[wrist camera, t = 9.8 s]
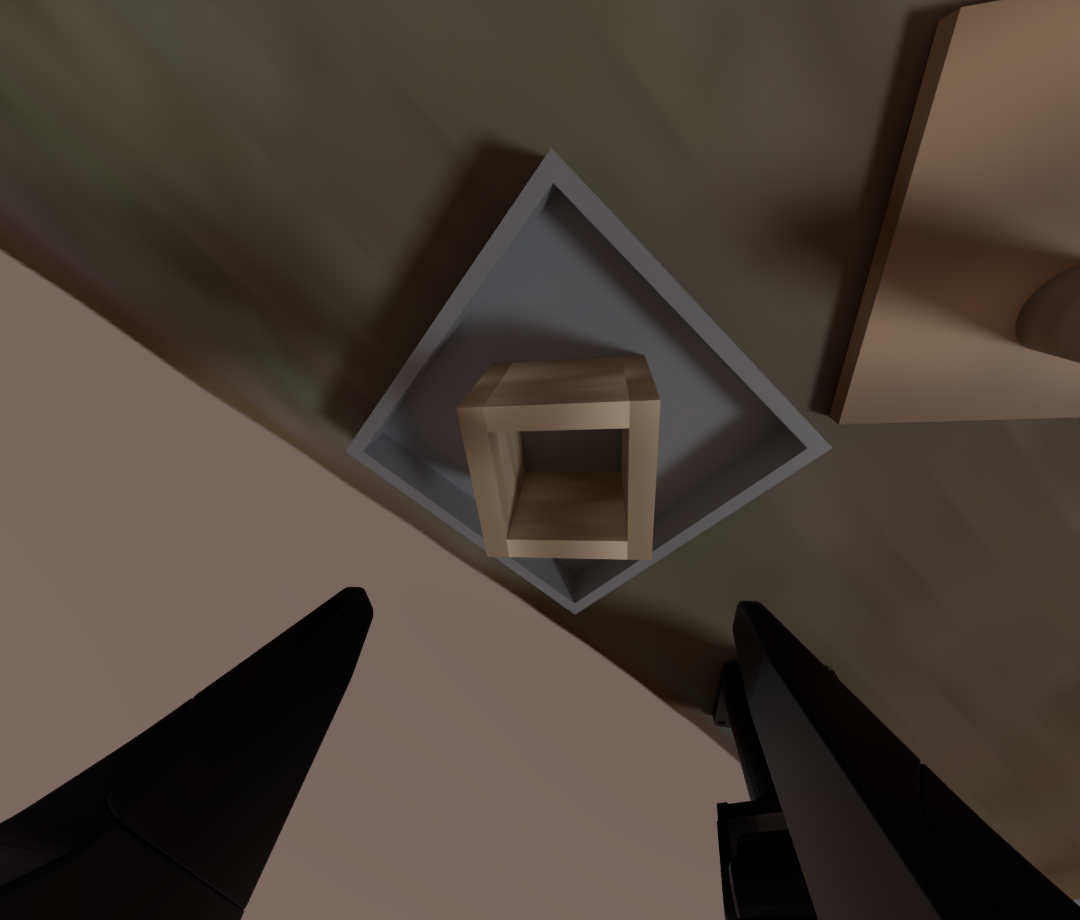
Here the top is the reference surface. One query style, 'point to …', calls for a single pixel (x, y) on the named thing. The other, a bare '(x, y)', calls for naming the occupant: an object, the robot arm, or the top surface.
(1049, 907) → the robot arm
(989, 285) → the stake block
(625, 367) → the hollow wooden box
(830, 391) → the top surface
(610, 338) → the slate tray
